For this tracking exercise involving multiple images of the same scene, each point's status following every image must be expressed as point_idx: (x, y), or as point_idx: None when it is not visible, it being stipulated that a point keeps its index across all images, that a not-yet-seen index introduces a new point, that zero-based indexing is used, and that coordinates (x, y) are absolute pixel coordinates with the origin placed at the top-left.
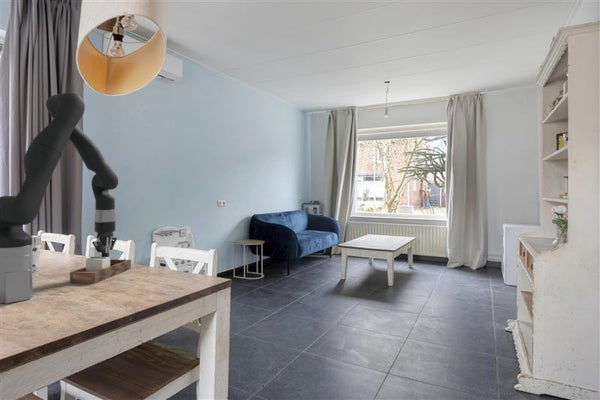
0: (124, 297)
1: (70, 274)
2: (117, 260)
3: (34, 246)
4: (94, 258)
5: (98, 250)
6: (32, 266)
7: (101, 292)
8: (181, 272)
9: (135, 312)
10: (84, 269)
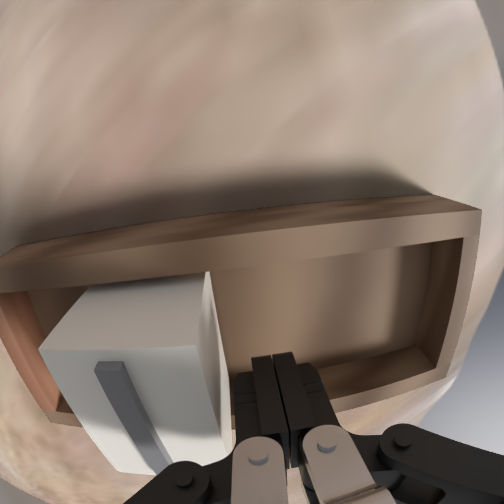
0: (58, 484)
1: None
2: (451, 300)
3: None
4: (109, 409)
5: (167, 493)
6: None
7: (36, 441)
8: None
9: (37, 498)
10: (78, 281)
